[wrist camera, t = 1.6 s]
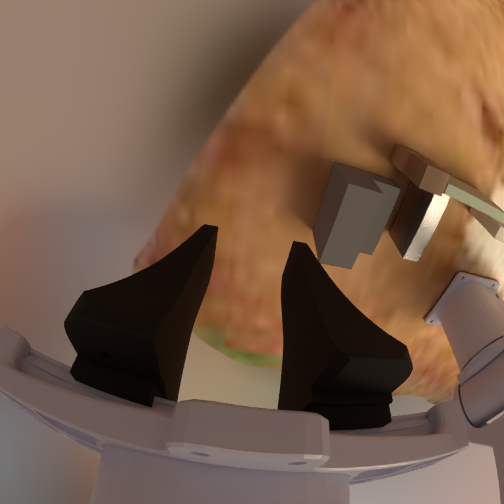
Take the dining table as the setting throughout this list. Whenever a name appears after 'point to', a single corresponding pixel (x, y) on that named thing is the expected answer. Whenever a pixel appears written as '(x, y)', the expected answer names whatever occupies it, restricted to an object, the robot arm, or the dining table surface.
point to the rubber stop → (352, 215)
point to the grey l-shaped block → (433, 214)
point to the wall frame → (437, 183)
